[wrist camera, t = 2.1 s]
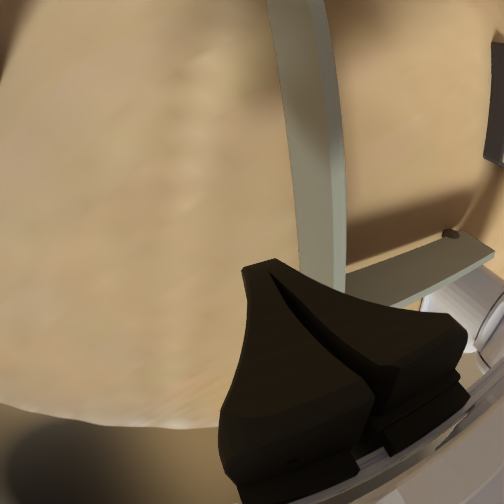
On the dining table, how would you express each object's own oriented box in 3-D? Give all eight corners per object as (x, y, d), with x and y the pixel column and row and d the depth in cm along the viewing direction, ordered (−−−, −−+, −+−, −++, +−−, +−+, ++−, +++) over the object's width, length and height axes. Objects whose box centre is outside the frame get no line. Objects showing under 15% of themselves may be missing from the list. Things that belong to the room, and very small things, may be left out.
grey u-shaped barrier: (454, 233, 27) (493, 258, 22) (297, 291, 24) (331, 339, 19) (446, -10, 14) (493, -15, 9) (247, -57, 10) (280, -102, 5)
